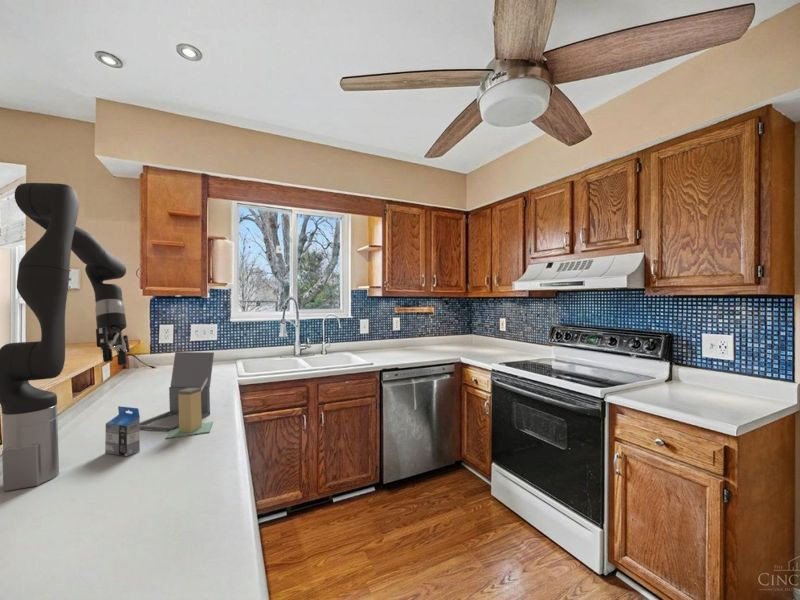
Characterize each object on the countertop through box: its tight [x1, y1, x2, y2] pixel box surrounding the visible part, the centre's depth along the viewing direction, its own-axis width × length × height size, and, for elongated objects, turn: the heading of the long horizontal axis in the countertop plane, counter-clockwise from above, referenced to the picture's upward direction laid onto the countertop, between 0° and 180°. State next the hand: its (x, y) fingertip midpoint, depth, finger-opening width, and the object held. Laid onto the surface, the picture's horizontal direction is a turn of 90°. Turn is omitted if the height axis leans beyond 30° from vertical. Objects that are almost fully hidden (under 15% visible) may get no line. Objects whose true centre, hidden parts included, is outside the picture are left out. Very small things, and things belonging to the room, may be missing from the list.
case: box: [140, 351, 215, 431], centre depth 127 cm, size 20×16×23 cm
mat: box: [165, 421, 214, 439], centre depth 116 cm, size 10×12×1 cm
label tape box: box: [104, 405, 141, 457], centre depth 100 cm, size 9×4×12 cm, turn 72°
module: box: [178, 388, 203, 432], centre depth 116 cm, size 5×5×13 cm
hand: (115, 363), depth 113 cm, fingers open, 8 cm apart
